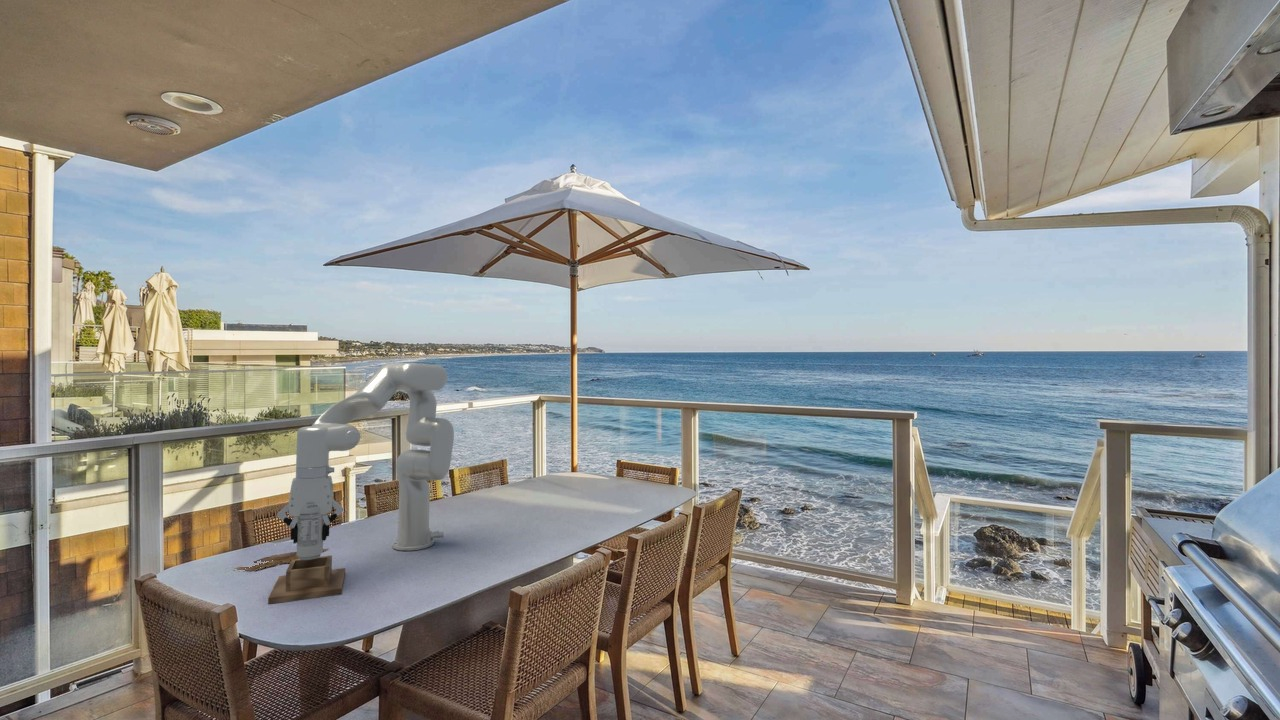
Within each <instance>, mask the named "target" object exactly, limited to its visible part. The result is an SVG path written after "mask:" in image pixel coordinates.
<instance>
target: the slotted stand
mask: <svg viewBox="0 0 1280 720" xmlns="http://www.w3.org/2000/svg"><path fill="white" fill-rule="evenodd" d="M288 564H289V565H288V566H287V569H286V571H285V575H279V576H278V577H277V579H276V582H275V584H274V586H273V587H272V590H271V592H270V594H269V596H268V597H267V599H268V601H267V603H268V605H271V604H279V603H286V602H294V601H293V600H295V601H300V600H299V599H302V600H307V599H308V600H309V599H316V598H323V597H329V596H330V597H331V596H338V595H342V593H343V587H344V581H345V576H346V568H336V569H332V567H333V566H332V565H333V555H322V556H320V557H318V558H316V559H311V560H300V559H295V560H291V562H290V563H288Z"/></svg>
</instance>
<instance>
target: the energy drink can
mask: <svg viewBox="0 0 1280 720" xmlns="http://www.w3.org/2000/svg"><path fill="white" fill-rule="evenodd" d="M314 503H315V502H308V503H306V505H305V506H304V507H302V508H301V510H300V516H299V517H298V521H297V543H296V552H297V556H298V557H299V559H300V560H311V559H316V558H318V557H321V555H322V554H323V553H324V551H323V549H324V541H323V540H322V538H323V525H324V520H323V518H322V515H321V514H320V508H319V507H318V506H317V505H315V504H314Z"/></svg>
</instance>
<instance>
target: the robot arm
mask: <svg viewBox="0 0 1280 720" xmlns="http://www.w3.org/2000/svg"><path fill="white" fill-rule="evenodd" d="M448 377H449V376H448V372H447V371H446V369H445V368H444V367H443V366H442V365H439V364H430V363H429V364H428V363H415V362H387V363H384V364H382V365H380V367H379V368H377V370H376V371H375V372H374V373H373V374H372V375H371V376H370V377H369V378H368V380H367V381H365V382H364V384H363V385H361V387H360V388H359V389H358V390H357V391H356V392H355V393H353V394H351V395H349V396H347V397H346V398H344V399H342V400H340V401H339V402H337V403H334V404H333V405H331V406H330V407H329V408H327V409H325V411H324V412H323V413H321V415H320V416H319V417H318V418H317V419H315V421H314V422H313V423H312V425H311V426H303V427H299V429H298V430H297V434H296V435H297V436H296V454H295V455H296V456H295V458H296V461H295V477H293V478H292V480H291V486H290V492H289V498H288V499H289V501H288V503H287V504H286V505H285V506H284V507H283V508H281V510H279V511H278V512H277V514H276V517H277V518H278V519H280V520H281V521H283V523H284V524H286V525H287V526H288V527H289V528H290V540H292V541H293V544H297V524H298V517H299V516H300V510H301V508H302V507H304V506H305V505H306V503H308V502H315V503H314V504H315V505H317V506H318V507H319V508H320V514H321V515H322V518H323V520H324V525H323V538H322V540H323V542H325V541H326V540H327V537H330V526H331V525H330V524H331V523H332V522H333V521H334V520H336V519H337V517H338V516H340V514H342V513H343V512H344V509H345V508H344V507H343V506H342V505H340V504H339V503H338V501H336V500H335V499H334V483H333V479H332V478H333V477H332V475H330V474H332V473H335V467H331V466H330V465H329V460H330V457H329V456H330V455H329V454H330V452H347V451H350V450H352V449H354V448H355V447H356V446H358V444H359V443H360V440H361V433H360V431H359V429H358V427H356V426H354V425H352V424H348V423H350V422H353V421H355V420H357V419H361V418H364V417H367V416H371V415H374V414H376V413H378V412H380V411H381V410H383V408H384V407H385V406H386V405H387V403H388V402H389V401H390V400H391V398H392V397H393V396H394V395H395V394H396V392H398V391H399V390H401V391H402V390H403V391H404V390H405V392H406V395H407V396H408V400H409V409H408V415H407V416H408V417H407V424H406V433H405V438H406V440H407V442H408V443H409V444H411V445H414V446H420V447H421V446H422V447H429V450H428V449H418V448H417V449H407V450H405V451H403V452H401V453H400V454H399V455H398V457H397V459H396V464H395V465H396V467H395V468H396V473H397V479H398V523H397V524H398V525H397V527H398V528H397V529H398V530H397V531H398V532H397V533H398V535H397V540H395V541H394V542H393V543H392V549H395V550H397V551H403V552H404V551H405V552H406V551H418V550H423V549H427V548H430V547H431V546H433V545H434V541H435V540H434V539H436V538H437V539H441V538H442V539H443V538H444V533H445V532H444V531H440V530H434V531H432V530H431V529H430V506H431V505H430V501H431V500H430V497H431V493H430V492H431V489H430V486H429V483H428V481H437V482H438V481H441V480H443V479H444V478H446V477H447V475H448V473H449V471H450V467H451V460H452V456H453V455H452V454H453V453H452V452H453V447H454V440H455V439H454V438H455V431H454V426H453V424H452V423H451V421H450V420H448V419H446V418H443V417H436V416H437V399H436V396H435V394H434V393H433V392H434V391H439V390H441V389H443V388H444V387H445V385H446V384H447V382H448ZM333 508H334V509H335V511H334V512H333V511H332V510H333ZM287 512H288V515H287V514H286V513H287ZM332 512H333V513H332ZM331 513H332V514H331ZM329 514H331V515H329Z"/></svg>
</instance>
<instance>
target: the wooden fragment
mask: <svg viewBox="0 0 1280 720" xmlns="http://www.w3.org/2000/svg"><path fill="white" fill-rule="evenodd" d="M326 550H327V551H329V550H330V549H329V548H327V547H326V548H323V552H327V551H326ZM295 559H299V557H298V556H297V551H293V552H287V553H280V554H274V555H270V556H264V557H262V558H260V559H257V560H254V561H253V562H254V563H257V561H260V560H261V562H264V561H265V562H266V561H269V562H267V563H264V564H263V563H261V564H260V563H259V565H255V566H252V567H250V568H249V567H241V566H238V567H234V568H233V569H237V570H245V571H250V572H251V571H255V572H257V571H256V570H258V569H259V570H258V571H260V570H262V569H267V568H273V567H276V566H279V565H278V564H280V565H285V564H286V563H288V564H290V562H291V560H295ZM272 560H273V561H272ZM260 567H261V568H260ZM265 567H266V568H265ZM245 568H246V569H245ZM245 571H244V572H245Z"/></svg>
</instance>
